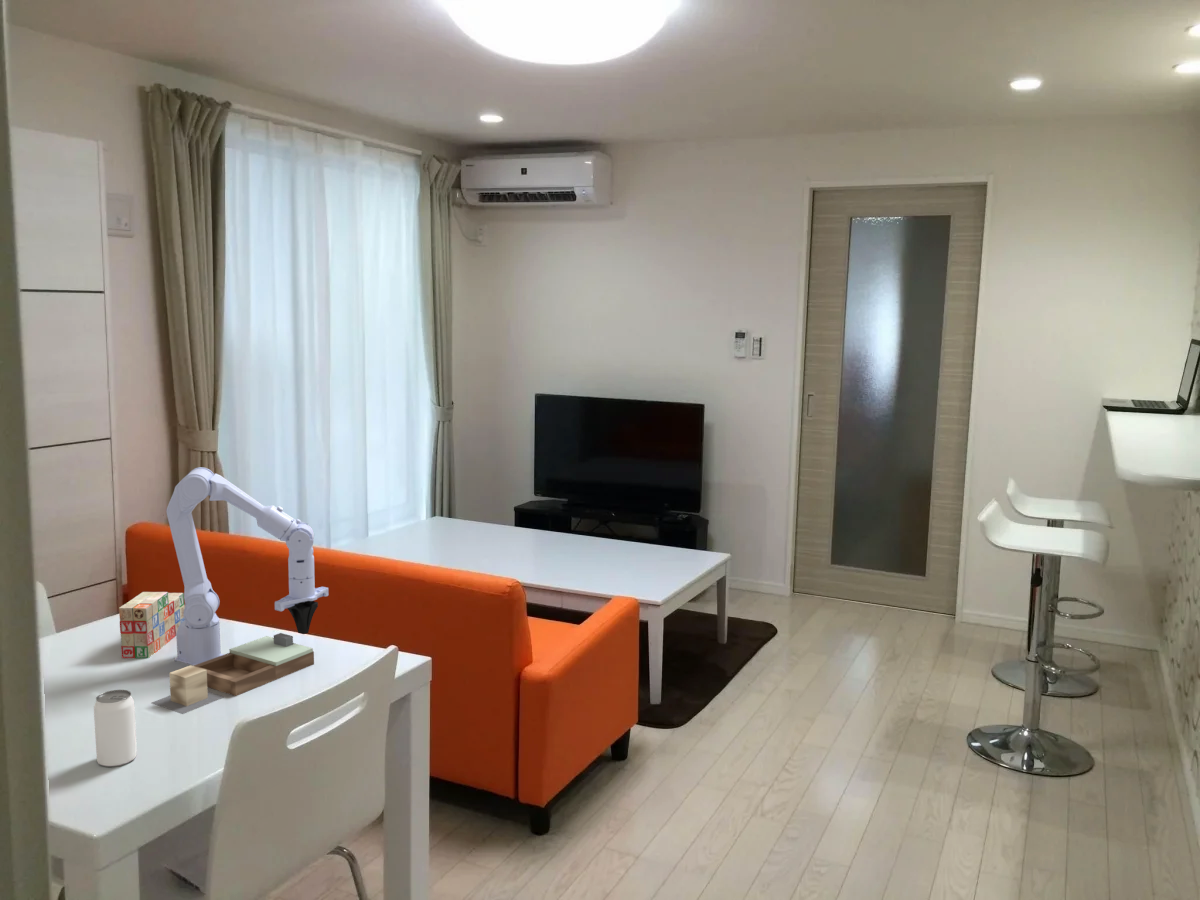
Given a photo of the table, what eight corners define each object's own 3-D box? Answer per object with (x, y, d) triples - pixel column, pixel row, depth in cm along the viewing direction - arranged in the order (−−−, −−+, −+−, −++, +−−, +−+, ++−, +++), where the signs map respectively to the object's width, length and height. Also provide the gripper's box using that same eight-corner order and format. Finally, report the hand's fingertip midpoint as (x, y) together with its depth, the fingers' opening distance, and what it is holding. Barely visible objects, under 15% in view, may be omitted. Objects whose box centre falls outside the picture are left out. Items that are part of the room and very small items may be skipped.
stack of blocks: (161, 628, 243) (158, 580, 242) (186, 628, 244) (184, 580, 242) (121, 658, 222) (118, 607, 220) (148, 659, 222) (146, 607, 221)
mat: (151, 705, 197) (150, 702, 197) (193, 688, 205) (193, 686, 205) (183, 716, 192) (182, 713, 192) (225, 699, 201) (225, 696, 200)
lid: (229, 652, 217) (229, 640, 217) (266, 639, 226) (266, 627, 226) (276, 665, 210) (275, 653, 209) (312, 651, 219) (312, 639, 218)
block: (170, 700, 198) (169, 672, 197) (191, 692, 202) (190, 665, 201) (186, 706, 195) (185, 677, 195) (207, 697, 200) (206, 670, 199)
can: (106, 751, 176) (102, 688, 175) (142, 750, 177) (139, 688, 175) (90, 768, 170) (86, 703, 168) (128, 767, 171) (125, 702, 169)
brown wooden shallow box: (188, 683, 208) (188, 667, 208) (268, 653, 227) (267, 639, 226) (236, 698, 201) (235, 682, 201) (314, 666, 219) (313, 651, 219)
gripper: (289, 586, 216) (291, 645, 218) (337, 571, 228) (338, 627, 230) (267, 581, 219) (269, 639, 221) (315, 567, 232) (317, 622, 234)
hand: (303, 632), depth 226 cm, fingers closed
